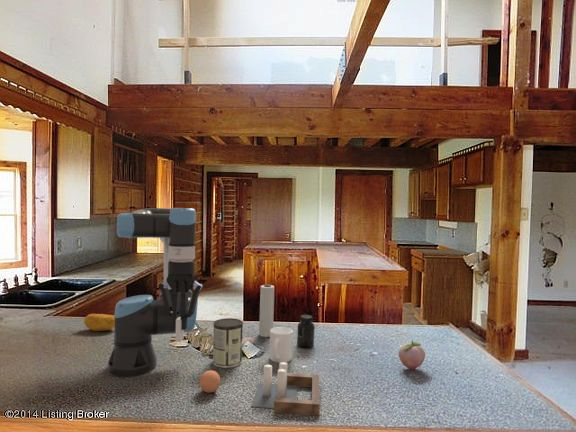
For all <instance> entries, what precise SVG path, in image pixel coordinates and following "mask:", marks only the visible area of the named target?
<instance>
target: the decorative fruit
mask: <svg viewBox="0 0 576 432" xmlns="http://www.w3.org/2000/svg"><path fill="white" fill-rule="evenodd" d="M398 358H399V361H400V362H401V363H402V365H403V366H404V367H405V368H407V369H409V370H411V371H413V370H416V369H417V368H420V366H422V364H423V363H424V361H425V358H426V352H425V350H424V348H423V347H422V343H419V342H417V341H414V340H411V342H407V343H404V344H402V345H401V346H400V347H399V350H398Z"/></svg>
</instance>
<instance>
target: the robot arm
mask: <svg viewBox="0 0 576 432" xmlns="http://www.w3.org/2000/svg"><path fill="white" fill-rule="evenodd" d="M196 214H197V212H196V210H195V208H190V207H189V208H188V207H187V208H185V207H171V208H163V207H160V208H159V207H148V208H142V209H137V210H134V211H132V212H121V213H118V215H117V217H116V235H117V236H118V237H119V238H127V239H131V238H133V239H137V238H139V239H141V238H146V239H147V238H148V239H149V238H154V239H155V238H157V239H158V238H159V241H160V242H161V243H163V282H161V283H159V284H158V289H160V291H161V293H160V294H159V297H158V298H157V299H154V297H153V295H151V294H138V295H133V296H128V297H126V298H123V299H121V300H119V301H118V302H116V304H115V309H114V314H113V315H114V318H115V327H114V332H113V348H112V350H111V353H110V356H109V359H108V361H107V369H106V370H107V373H108V374H109V375H112V376H115V377H126V378H127V377H136V376H140V375H144V374H147V373H149V372H151V371H153V370H154V369H155V368H156V367H157V361H158V360H157V355H156V352H155V349H154V346H153V343H152V342H153V341H152V340H153V339H152V337H153V336H155V335H156V336H157V335H169V334H175V337H174V339H175V342H177V343H181V342H182V341H183V340H184V336H185V335H184V334H185V333H189V332H192V331H193V330H194V329H195V327H196V321H197V314H198V306H199V305H198V302H199V295H200V293H201V291H202V289H203V288H204V284H203V283H199V282H198V281H197V279H196V277H195V265H196V264H195V263H196V262H195V261H194V260H195V259H196V229H197V228H196V225H197V224H196V222H197V215H196ZM192 287H193V292H192V290H191V289H192Z"/></svg>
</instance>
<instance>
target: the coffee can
mask: <svg viewBox="0 0 576 432" xmlns="http://www.w3.org/2000/svg"><path fill="white" fill-rule="evenodd" d="M243 326H244V321H243V320H241V319H239V318H233V317H232V318H231V317H227V318H220V319H217V320H214V322H213V341H212V342H213V344H212V345H213V347H212V348H213V349H212V353H213V354H212V355H213V356H212V359H213V360H212V364H213V365H214V366H216V367H218V368H222V369H223V368H224V369H230V368H234V367H235V368H236V367H238V366H240V365H241V364H242V363H243Z"/></svg>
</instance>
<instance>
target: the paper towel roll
mask: <svg viewBox="0 0 576 432" xmlns="http://www.w3.org/2000/svg"><path fill="white" fill-rule="evenodd" d="M259 289H260V292H259V293H260V295H259V296H260V298H259V324H258V325H259V327H258V328H259V330H258V334H259V335H258V336H260V337H263V338H270V330H271V329H272V328H274V318H275V317H274V315H275V313H274V312H275V307H274V306H275V286H274V285H272V284H263V285H260V288H259Z"/></svg>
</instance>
